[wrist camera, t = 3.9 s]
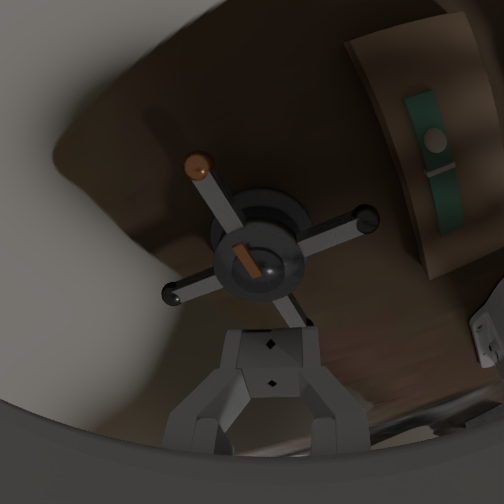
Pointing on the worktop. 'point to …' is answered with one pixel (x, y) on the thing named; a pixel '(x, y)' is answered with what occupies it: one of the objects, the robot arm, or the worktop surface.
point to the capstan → (260, 246)
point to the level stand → (438, 134)
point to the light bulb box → (486, 417)
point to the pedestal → (265, 199)
